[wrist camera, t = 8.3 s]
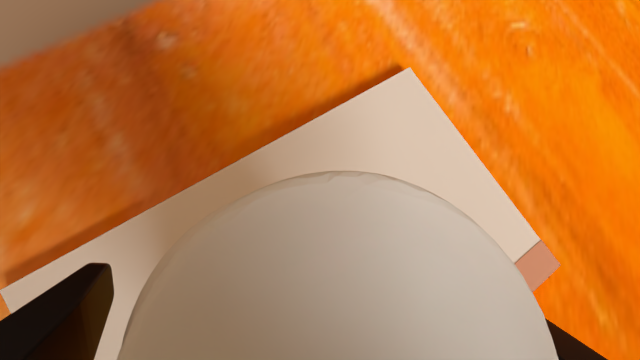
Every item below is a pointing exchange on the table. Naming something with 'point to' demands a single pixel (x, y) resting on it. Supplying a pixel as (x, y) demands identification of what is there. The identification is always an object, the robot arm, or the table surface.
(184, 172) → the table surface
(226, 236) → the supplement bottle
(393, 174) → the notepad
